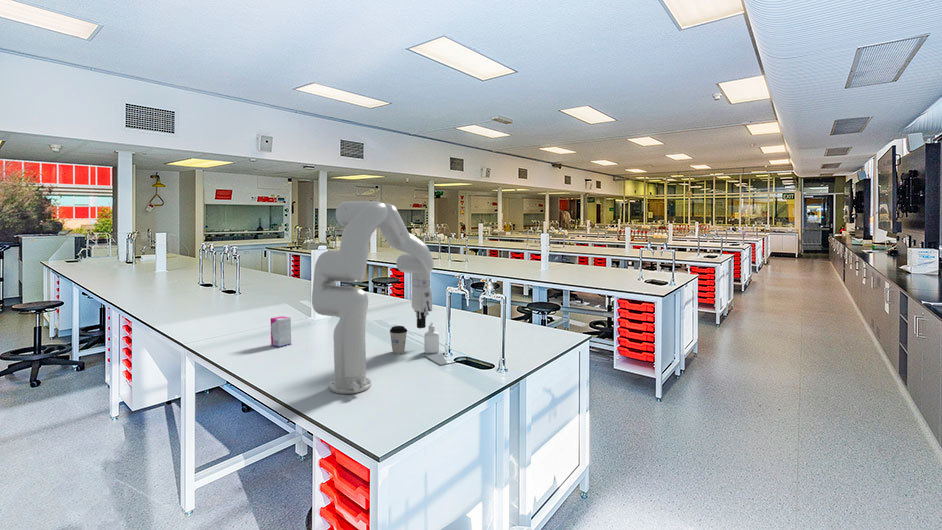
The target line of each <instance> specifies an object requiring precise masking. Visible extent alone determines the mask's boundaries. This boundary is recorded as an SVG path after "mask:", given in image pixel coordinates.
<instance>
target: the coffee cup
mask: <svg viewBox="0 0 942 530" xmlns="http://www.w3.org/2000/svg"><path fill="white" fill-rule="evenodd" d="M407 332H408V328H405V326H403V325H394V326H391V329H389V334H390V340H391V349H392V354H394V353H397V354H396V355H399V354H398V353H402V354H404V353H405V351H406V342H407ZM403 352H404V353H403Z"/></svg>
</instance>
